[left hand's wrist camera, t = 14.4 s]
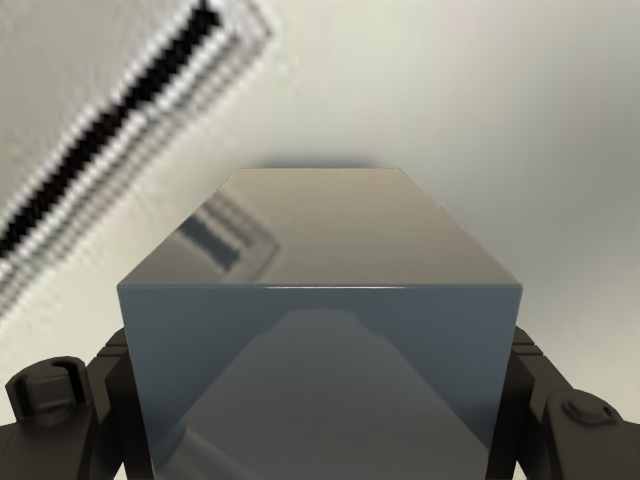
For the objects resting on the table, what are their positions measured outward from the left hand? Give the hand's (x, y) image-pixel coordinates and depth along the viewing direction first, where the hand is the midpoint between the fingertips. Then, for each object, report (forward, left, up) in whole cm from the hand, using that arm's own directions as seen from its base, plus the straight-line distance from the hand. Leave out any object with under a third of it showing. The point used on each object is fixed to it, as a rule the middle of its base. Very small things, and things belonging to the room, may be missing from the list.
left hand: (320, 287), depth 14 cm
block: (0, 0, -4) cm, 4 cm away
